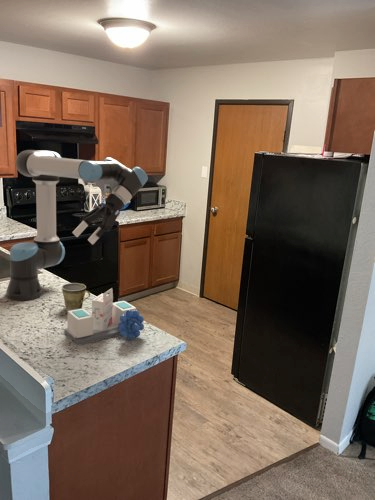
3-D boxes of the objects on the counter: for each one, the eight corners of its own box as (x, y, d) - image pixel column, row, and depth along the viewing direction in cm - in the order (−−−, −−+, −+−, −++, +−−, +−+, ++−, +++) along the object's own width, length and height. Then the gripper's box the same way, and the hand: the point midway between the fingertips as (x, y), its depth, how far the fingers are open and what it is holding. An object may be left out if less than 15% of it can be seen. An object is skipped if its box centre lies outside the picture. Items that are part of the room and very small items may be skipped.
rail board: (64, 332, 158) (64, 309, 156) (122, 319, 173) (123, 298, 171) (78, 345, 149) (78, 321, 147) (138, 330, 164) (139, 308, 162)
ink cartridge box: (100, 321, 166) (101, 285, 162) (112, 323, 165) (113, 287, 161) (90, 329, 157) (91, 292, 154) (103, 331, 156) (104, 294, 153)
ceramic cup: (56, 310, 178) (56, 287, 176) (71, 302, 187) (71, 281, 185) (82, 316, 174) (82, 293, 171) (96, 308, 183) (96, 287, 180)
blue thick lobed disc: (124, 347, 150) (125, 316, 147) (113, 340, 154) (114, 310, 152) (150, 339, 157) (151, 309, 155) (139, 333, 162) (140, 304, 159)
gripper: (140, 210, 161) (103, 252, 155) (108, 201, 180) (74, 238, 174) (128, 196, 157) (90, 238, 151) (97, 188, 175) (62, 226, 169)
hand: (82, 238), depth 162 cm, fingers open, 13 cm apart
